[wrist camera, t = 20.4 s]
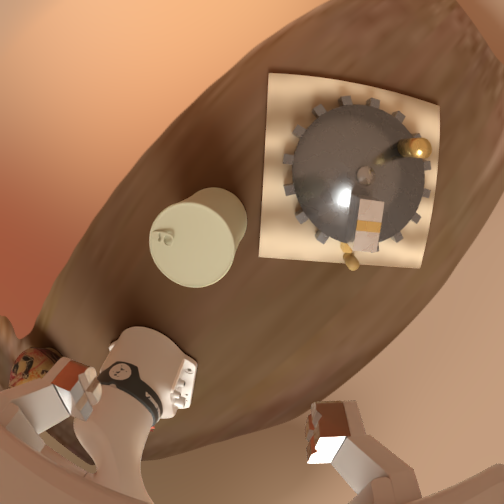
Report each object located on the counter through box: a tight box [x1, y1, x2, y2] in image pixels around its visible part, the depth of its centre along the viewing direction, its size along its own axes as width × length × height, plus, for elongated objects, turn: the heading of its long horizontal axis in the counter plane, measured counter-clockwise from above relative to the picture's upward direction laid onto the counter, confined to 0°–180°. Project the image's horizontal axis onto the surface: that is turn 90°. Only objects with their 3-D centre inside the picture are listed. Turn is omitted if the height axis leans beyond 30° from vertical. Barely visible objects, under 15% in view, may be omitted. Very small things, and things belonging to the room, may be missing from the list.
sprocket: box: [282, 95, 432, 254], centre depth 29 cm, size 20×20×7 cm
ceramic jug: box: [9, 347, 62, 389], centre depth 40 cm, size 17×15×30 cm
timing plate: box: [259, 73, 440, 271], centre depth 32 cm, size 25×25×4 cm
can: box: [149, 187, 247, 288], centre depth 32 cm, size 9×9×12 cm
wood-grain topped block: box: [345, 194, 384, 252], centre depth 31 cm, size 6×3×4 cm, turn 178°
